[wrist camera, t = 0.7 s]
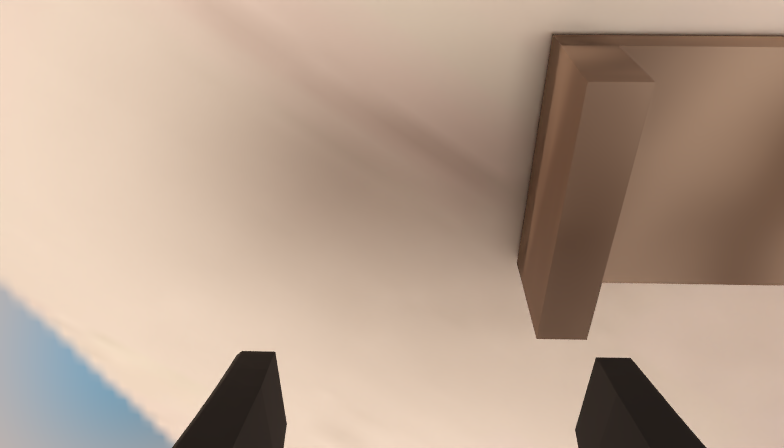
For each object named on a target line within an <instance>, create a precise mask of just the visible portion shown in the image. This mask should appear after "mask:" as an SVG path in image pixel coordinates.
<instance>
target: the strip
mask: <svg viewBox="0 0 784 448" xmlns="http://www.w3.org/2000/svg"><path fill="white" fill-rule="evenodd" d="M517 265H518V269H519V273H520V277H521V280H522V284H523V288H524V292H525V296H526V300H527V304H528V307H529V311H530V315H531V319H532V323H533V327H534V331H535V335H536V338H537V339H580V340H587V336H588V333H589V329H590V325H591V322H592V318H593V314H594V310H595V307H596V303H597V299H598V295H599V292H600V288H601V284H602V283H663V284H727V285H784V37H783V36H663V35H553V37H552V43H551V50H550V56H549V63H548V69H547V75H546V82H545V88H544V95H543V101H542V107H541V114H540V120H539V126H538V133H537V139H536V146H535V152H534V158H533V165H532V171H531V177H530V184H529V190H528V197H527V203H526V209H525V216H524V222H523V228H522V235H521V241H520V248H519V254H518V260H517Z"/></svg>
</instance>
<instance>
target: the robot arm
mask: <svg viewBox="0 0 784 448" xmlns="http://www.w3.org/2000/svg"><path fill="white" fill-rule="evenodd" d="M286 425H287V423H286V416H285V410H284V404H283V398H282V391H281V385H280V379H279V372H278V366H277V360H276V353H275V352H260V351H242V352H240V353H239V354H238V355H237V356H236V357H235V359H234V360H233V362H232V364H231V365H230V367H229V368H228V370H227V371H226V373H225V374H224V376H223V377H222V379H221V380H220V382H219V383H218V385H217V386H216V388H215V389H214V391H213V392H212V394H211V395H210V397H209V398H208V399H207V401H206V402H205V404H204V405H203V406H202V408H201V409H200V411H199V412H198V414H197V415H196V416H195V418H194V419H193V420H192V422H191V423H190V424H189V426H188V427H187V428H186V430H185V431H184V432H183V434H182V435H181V436H180V438H179V439H178V440H177V442H176V443H175V444H174V446H173V447H172V448H283V447H284V440H285V433H286ZM575 431H576V437H577V442H578V448H706V447H705V446H704V445H703V443H702V442H701V441H700V440H699V439H698V438H697V436H696V435H695V434H694V433H693V432H692V431H691V430H690V428H689V427H688V426H687V425H686V424H685V422H684V421H683V420H682V419H681V418H680V417H679V415H678V414H677V413H676V412H675V411H674V409H673V408H672V407H671V406H670V405H669V404H668V402H667V401H666V400H665V399H664V397H663V396H662V395H661V394H660V393H659V391H658V390H657V389H656V388H655V387H654V385H653V384H652V383H651V382H650V381H649V379H648V378H647V377H646V376H645V375H644V373H643V372H642V371H641V370H640V368H639V367H638V366H637V365H636V364H635V363H634V362H633V360H632V359H631V358H596V359H595V363H594V366H593V370H592V373H591V377H590V380H589V384H588V387H587V391H586V394H585V398H584V401H583V405H582V408H581V411H580V415H579V418H578V422H577V425H576V429H575Z"/></svg>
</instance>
